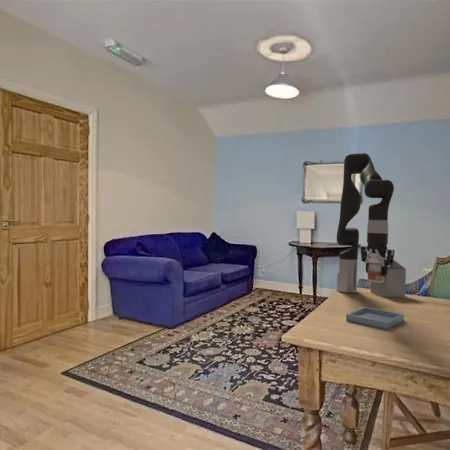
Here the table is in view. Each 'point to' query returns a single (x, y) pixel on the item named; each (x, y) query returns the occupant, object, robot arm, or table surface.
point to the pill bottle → (374, 269)
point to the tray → (375, 317)
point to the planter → (391, 282)
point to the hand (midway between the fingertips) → (376, 274)
